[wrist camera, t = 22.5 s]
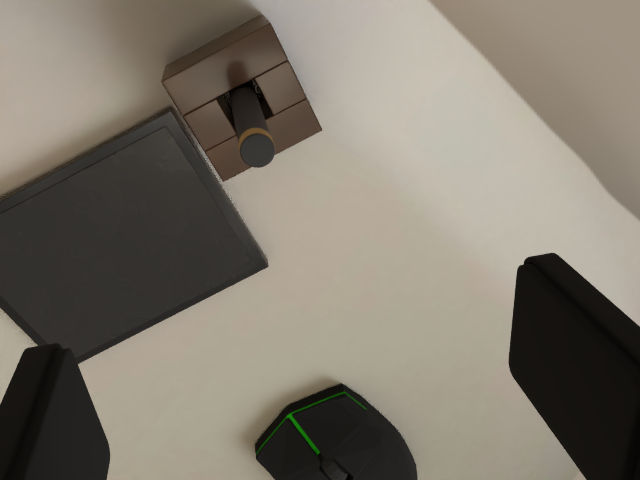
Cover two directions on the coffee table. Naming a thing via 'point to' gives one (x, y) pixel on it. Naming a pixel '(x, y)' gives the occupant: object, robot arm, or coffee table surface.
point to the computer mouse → (334, 441)
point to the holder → (230, 72)
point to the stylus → (251, 127)
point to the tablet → (120, 240)
